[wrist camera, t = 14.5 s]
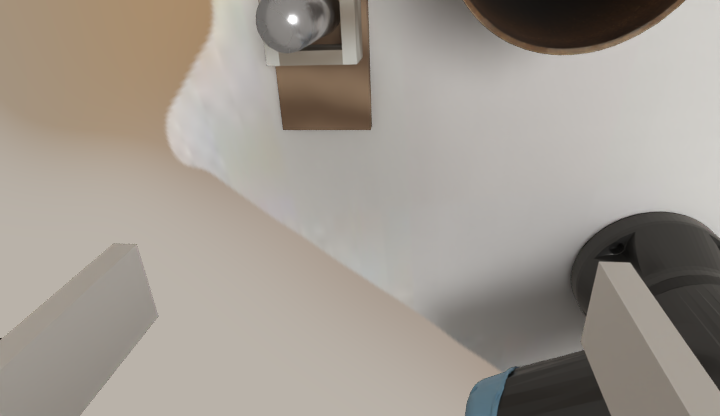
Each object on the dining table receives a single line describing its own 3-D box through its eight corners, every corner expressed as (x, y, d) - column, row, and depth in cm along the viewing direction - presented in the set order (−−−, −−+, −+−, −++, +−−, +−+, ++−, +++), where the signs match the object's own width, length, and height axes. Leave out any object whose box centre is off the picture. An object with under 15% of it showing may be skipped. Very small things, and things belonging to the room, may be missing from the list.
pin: (343, 34, 42) (317, 51, 31) (300, 36, 43) (260, 54, 32) (339, -15, 40) (310, -13, 30) (295, -12, 41) (251, -9, 30)
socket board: (371, 126, 47) (365, 142, 42) (286, 126, 48) (271, 142, 44) (366, -41, 40) (358, -43, 36) (267, -36, 41) (247, -37, 37)
